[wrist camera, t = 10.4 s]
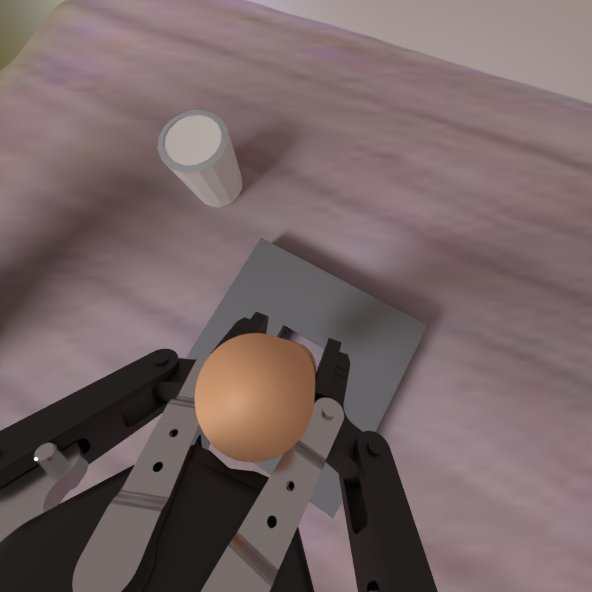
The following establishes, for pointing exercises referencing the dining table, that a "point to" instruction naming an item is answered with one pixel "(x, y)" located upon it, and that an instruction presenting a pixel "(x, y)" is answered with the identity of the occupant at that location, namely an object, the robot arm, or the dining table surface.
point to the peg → (256, 396)
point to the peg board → (322, 336)
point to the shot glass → (202, 156)
